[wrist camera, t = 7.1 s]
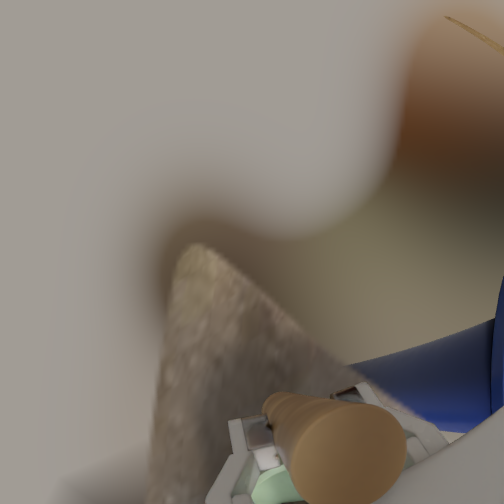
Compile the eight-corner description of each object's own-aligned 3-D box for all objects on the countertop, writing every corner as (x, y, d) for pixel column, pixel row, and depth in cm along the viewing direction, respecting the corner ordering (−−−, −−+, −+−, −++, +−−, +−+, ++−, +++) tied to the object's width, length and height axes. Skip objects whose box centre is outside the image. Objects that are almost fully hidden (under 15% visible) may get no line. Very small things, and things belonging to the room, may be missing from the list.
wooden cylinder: (301, 389, 18) (405, 392, 6) (303, 427, 17) (408, 495, 5) (260, 393, 18) (286, 413, 5) (263, 432, 17) (293, 522, 4)
